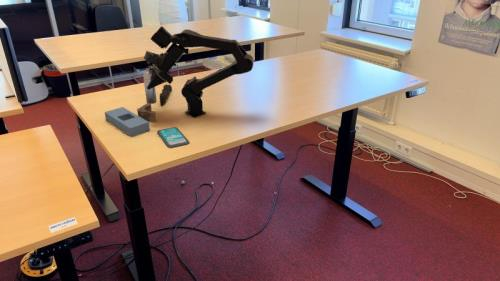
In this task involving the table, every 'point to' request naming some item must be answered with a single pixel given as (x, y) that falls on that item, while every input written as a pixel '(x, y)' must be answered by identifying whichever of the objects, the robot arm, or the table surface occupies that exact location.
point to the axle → (151, 92)
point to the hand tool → (165, 94)
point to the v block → (147, 113)
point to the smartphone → (172, 137)
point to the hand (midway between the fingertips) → (146, 87)
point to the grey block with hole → (127, 121)
